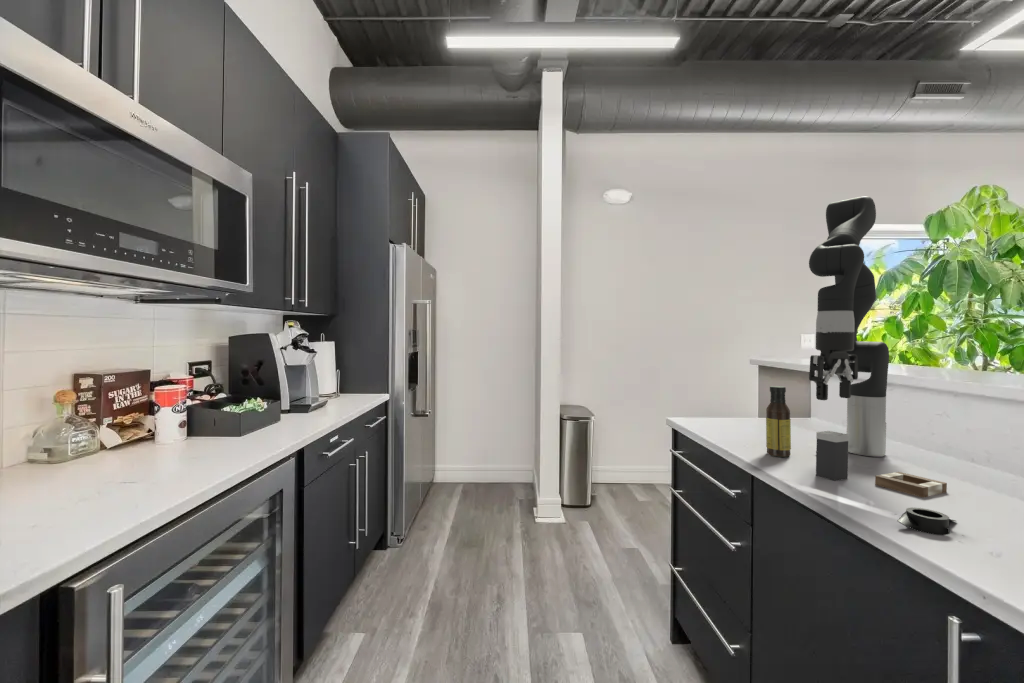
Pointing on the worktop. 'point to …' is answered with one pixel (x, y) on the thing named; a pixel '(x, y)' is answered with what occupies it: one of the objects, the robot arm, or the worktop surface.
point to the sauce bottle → (778, 424)
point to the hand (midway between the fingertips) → (833, 398)
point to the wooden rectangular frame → (911, 484)
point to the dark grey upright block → (832, 455)
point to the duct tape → (926, 521)
